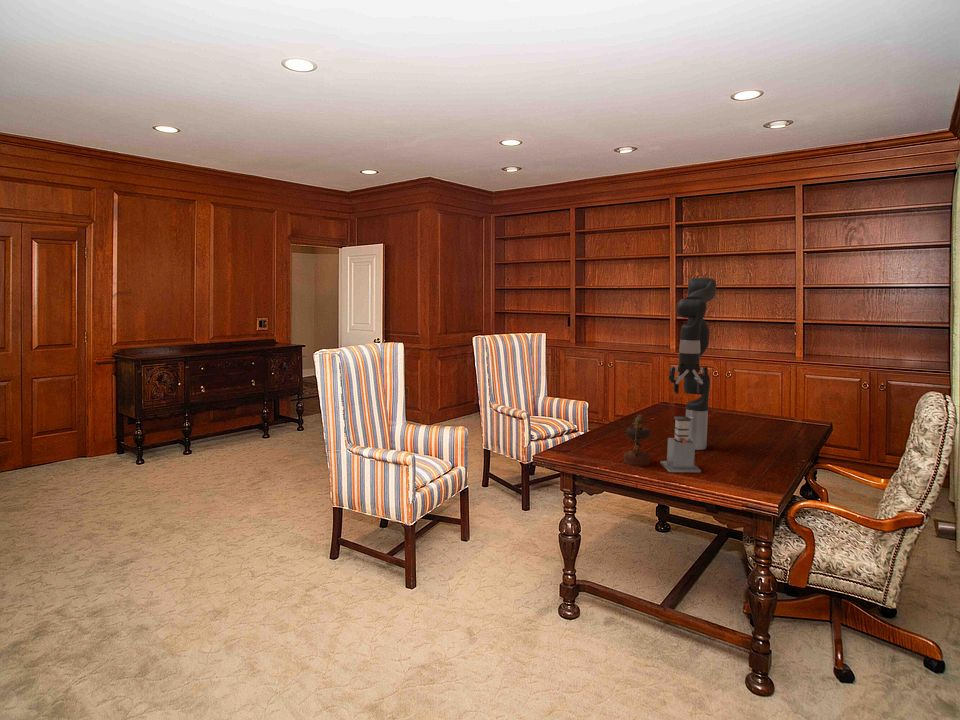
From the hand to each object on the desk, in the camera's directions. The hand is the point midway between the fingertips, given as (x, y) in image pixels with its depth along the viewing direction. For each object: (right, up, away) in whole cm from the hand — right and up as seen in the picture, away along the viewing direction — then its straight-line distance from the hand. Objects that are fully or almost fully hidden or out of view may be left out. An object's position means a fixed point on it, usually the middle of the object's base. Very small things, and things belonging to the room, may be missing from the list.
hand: (687, 393), depth 229 cm
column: (-1, -28, +4) cm, 29 cm away
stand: (-1, -30, +4) cm, 30 cm away
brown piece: (-16, -29, +12) cm, 35 cm away
